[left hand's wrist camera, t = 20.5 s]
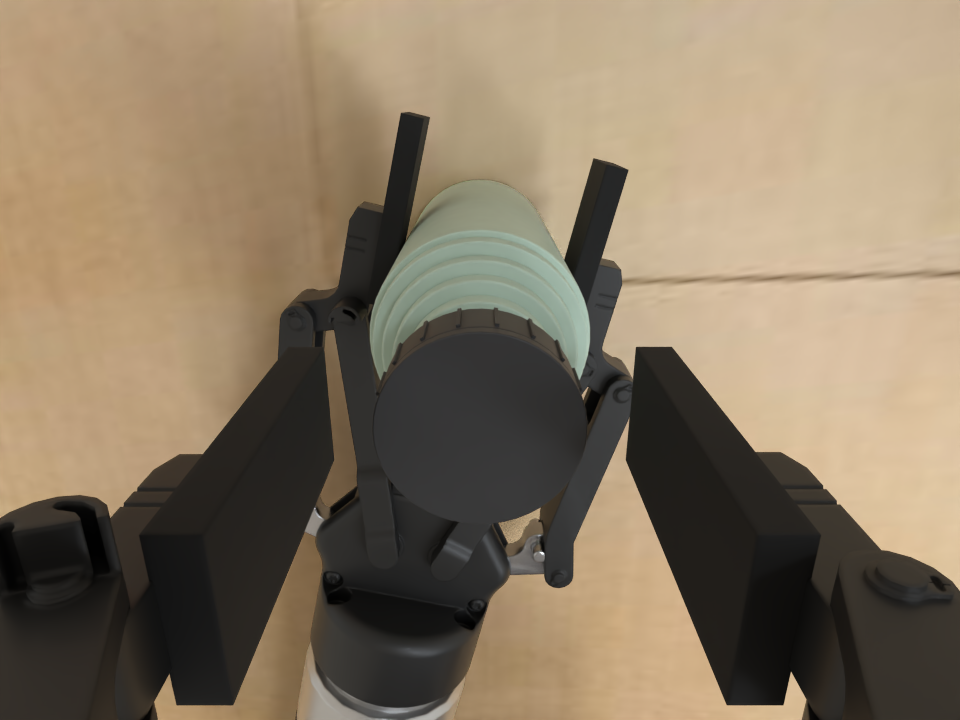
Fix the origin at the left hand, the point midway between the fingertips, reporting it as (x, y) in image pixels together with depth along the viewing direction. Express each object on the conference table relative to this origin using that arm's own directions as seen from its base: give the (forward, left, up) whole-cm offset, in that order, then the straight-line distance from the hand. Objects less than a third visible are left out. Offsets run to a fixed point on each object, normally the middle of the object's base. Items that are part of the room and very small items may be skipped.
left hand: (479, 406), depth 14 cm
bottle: (0, 0, -17) cm, 17 cm away
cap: (0, 0, +1) cm, 1 cm away
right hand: (-5, -2, -11) cm, 12 cm away
